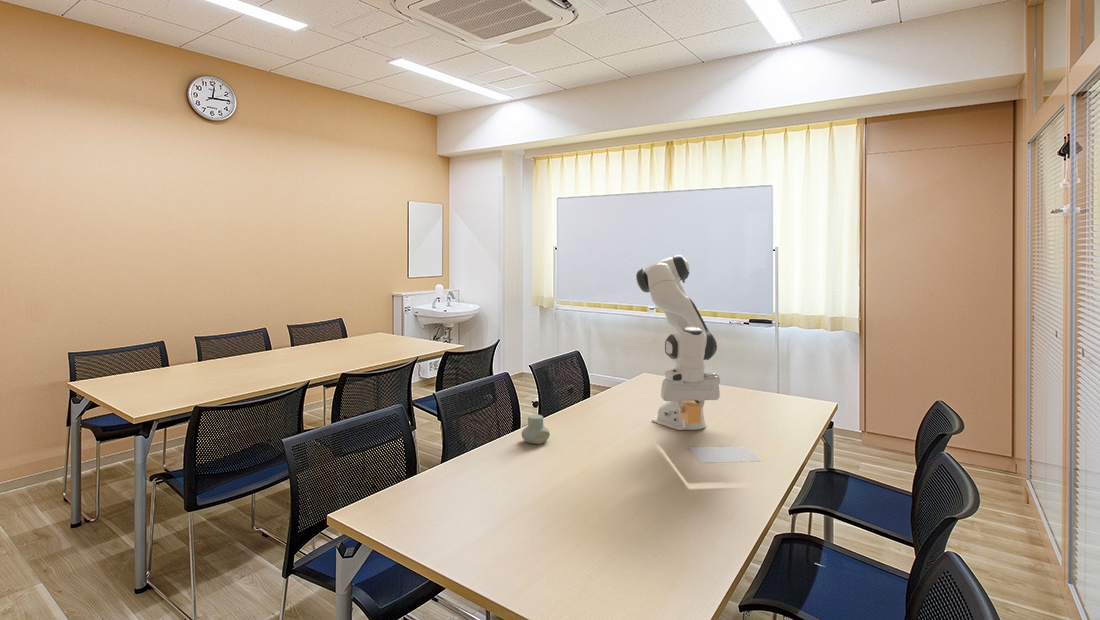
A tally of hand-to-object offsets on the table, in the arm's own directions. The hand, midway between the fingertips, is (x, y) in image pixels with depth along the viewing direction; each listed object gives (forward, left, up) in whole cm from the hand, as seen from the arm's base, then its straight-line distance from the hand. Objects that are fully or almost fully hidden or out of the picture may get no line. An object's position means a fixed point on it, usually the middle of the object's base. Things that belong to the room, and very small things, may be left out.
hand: (689, 412), depth 191 cm
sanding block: (0, 0, -2) cm, 3 cm away
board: (+9, +9, -17) cm, 21 cm away
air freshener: (-53, -22, -17) cm, 60 cm away
